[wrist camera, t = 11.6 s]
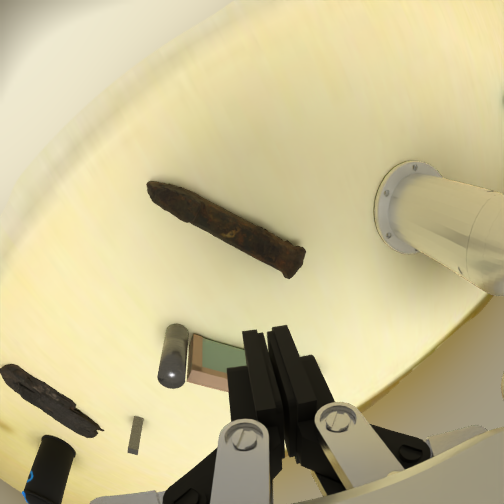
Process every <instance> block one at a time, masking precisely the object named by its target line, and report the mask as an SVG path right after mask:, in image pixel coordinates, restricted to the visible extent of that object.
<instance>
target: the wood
mask: <svg viewBox="0 0 504 504" xmlns="http://www.w3.org/2000/svg"><path fill="white" fill-rule="evenodd" d="M0 373H1V375H2V378H3V379H4V381H5V383H6V384H7V385H8V386H9V387H10V388H12V389H13V390H14V391H15V392H17V393H18V394H20V395H21V397H22V398H23V399H25V400H26V401H28V402H30V403H31V404H33V405H34V406H36V407H38V408H40V409H41V410H43V411H44V412H45V413H47V414H48V415H50V416H51V417H53V418H54V419H55V420H57V421H58V422H60V423H61V424H63V425H64V426H66V427H68V428H69V429H71V430H73V431H74V432H76V433H77V434H80V435H82V436H84V437H86V438H93V437H95V436H96V435H97V434H98V432H96V430H100V431H104V430H102V429H100V428H99V426H98V425H97V424H96V423H95V422H94V421H93V420H92V419H90V418H89V417H87V416H85V415H84V414H82V413H81V412H79V411H78V410H76V409H75V407H76V404H75V403H74V402H73V401H72V400H70V399H69V398H67V397H66V396H64V395H62V394H60V393H59V392H57V391H56V390H55V389H53V388H52V387H50V386H49V385H47V384H46V383H45V382H43V381H40V380H38V379H36V378H34V377H32V376H31V375H29V374H28V373H27V372H25V371H24V370H23V369H21V368H20V367H19V366H17V365H14V364H10V365H5V366H4V367H2V368H0Z"/></svg>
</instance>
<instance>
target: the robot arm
mask: <svg viewBox="0 0 504 504" xmlns="http://www.w3.org/2000/svg"><path fill="white" fill-rule="evenodd" d="M384 191H385V192H384ZM374 214H375V222H376V227H377V230H378V232H379V234H380V236H381V238H382V239H383V241H384V242H385V243H386V244H387V245H388V246H389V247H390V248H392V249H394V250H395V251H397V252H400V253H403V254H415V253H418V252H422V253H424V254H425V255H427V256H429V257H430V258H432V259H434V260H435V261H437V262H439V263H440V264H442V265H444V266H445V267H447V268H448V269H450V270H452V271H453V272H455V273H457V274H458V275H460V276H461V277H463V278H464V279H466V280H468V281H469V282H471V283H472V284H474V285H475V286H477V287H478V288H480V289H482V290H483V291H485V292H487V293H489V294H492V295H496V296H504V194H503V193H499V192H496V191H492V190H488V189H485V188H481V187H477V186H473V185H469V184H465V183H461V182H457V181H453V180H449V179H444V178H443V177H442V176H441V174H440V173H439V172H438V171H437V170H436V169H435V168H434V167H433V166H431V165H429V164H427V163H424V162H420V161H408V162H404V163H401V164H399V165H397V166H396V167H395V168H393V169H392V170H391V171H390V172H389V173H388V174H387V175H386V177H385V178H384V180H383V181H382V183H381V185H380V187H379V190H378V192H377V196H376V200H375V209H374ZM242 334H243V342H244V350H245V357H246V366H238V367H230V368H227V380H228V391H229V402H230V413H231V422H230V423H229V424H227V425H226V426H225V427H224V428H223V429H222V430H221V432H220V435H219V441H218V447H217V448H216V449H215V450H214V451H213V452H212V453H211V454H209V455H208V456H207V457H206V458H205V459H204V460H202V461H201V462H200V463H199V464H198V465H196V466H195V467H194V468H193V469H192V470H190V471H189V472H188V473H187V474H185V475H184V476H183V477H182V478H180V479H179V480H178V481H177V482H175V483H174V484H173V485H171V486H170V487H169V488H168V489H167V490H166V491H163V492H156V491H155V490H154V491H148V492H141V493H134V494H125V495H116V496H104V497H99V498H96V499H94V500H93V501H91V502H90V504H273V479H274V478H275V476H276V475H277V474H278V473H279V472H280V471H281V470H282V459H283V458H285V447H284V440H285V443H286V447H287V451H288V455H289V457H293V456H295V459H296V463H297V464H298V463H300V464H301V466H303V467H305V468H308V469H310V472H311V475H312V477H313V479H314V481H315V482H316V484H317V486H318V488H319V490H320V492H321V494H322V496H323V497H321V498H316V499H312V500H308V501H303V502H298V503H293V504H504V427H500V428H496V429H492V430H489V431H487V429H485V428H484V427H482V426H479V425H471V426H468V427H464V428H461V429H457V430H453V431H449V432H445V433H441V434H437V435H433V436H428V438H427V439H426V440H421V439H419V438H416V437H413V436H409V435H405V434H402V433H398V432H395V431H391V430H388V429H385V428H381V427H378V426H375V425H371V424H369V423H368V422H367V420H366V419H365V418H364V416H363V415H362V414H361V413H360V411H359V410H358V409H357V408H356V407H355V406H353V405H351V404H349V403H344V402H335V401H334V399H333V396H332V394H331V392H330V390H329V388H328V386H327V383H326V381H325V379H324V377H323V375H322V373H321V371H320V368H319V366H318V364H317V362H316V360H315V358H314V356H313V355H308V356H302V357H300V356H299V354H298V351H297V349H296V346H295V344H294V341H293V339H292V336H291V334H290V331H289V329H288V327H287V325H284V326H277V327H272V331H269V332H267V340H268V349H267V346H266V342H265V338H264V335H263V333H257V330H249V331H242ZM501 393H502V397H503V400H504V373H503V376H502V382H501Z"/></svg>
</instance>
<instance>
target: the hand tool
mask: <svg viewBox="0 0 504 504" xmlns="http://www.w3.org/2000/svg"><path fill="white" fill-rule="evenodd" d="M147 191H148V194H149V195H150V198H151V199H152V201H153V202H154V203H155V204H157V205H158V206H160V207H161V208H163V209H164V210H166V211H168V212H170V213H171V214H173V215H174V216H176V217H177V218H178V219H180V220H182V221H184V222H186V223H188V222H190V223H191V224H193V225H195V226H197V227H199V228H201V229H203V230H205V231H207V232H209V233H210V234H212V235H213V236H215V237H217V238H219V239H221V240H223V241H224V242H226V243H228V244H230V245H232V246H234V247H235V248H237V249H239V250H241V251H243V252H245V253H247V254H248V255H250V256H252V257H254V258H256V259H258V260H260V261H262V262H264V263H266V264H268V265H270V266H272V267H274V268H275V269H277V270H279V271H281V272H282V273H283V275H284V277H285V278H288V279H290V278H292V277H293V276H294V275H295V273H296V272H297V271H298V269H299V268H301V266H302V265H303V260H304V257H305V253H306V250H305V249H304V248H303V247H300V246H293V245H292V244H291V243H290V242H289V241H283V240H282V239H281V238H279V237H277V236H275V235H274V234H273V233H270V232H268V231H267V230H266V229H263V228H262V227H259V226H256V225H254V224H253V223H251V222H248V221H246V220H244V219H243V218H241V217H239V216H237V215H235V214H233V213H231V212H229V211H227V210H225V209H224V208H222V207H220V206H218V205H216V204H214V203H212V202H210V201H208V200H206V199H204V198H202V197H201V196H199V195H198V194H196V193H193V192H191V191H189V190H186V189H184V188H182V187H177V186H174V185H171V184H165V183H160V182H155V181H149V182H148V183H147Z"/></svg>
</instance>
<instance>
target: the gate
mask: <svg viewBox="0 0 504 504" xmlns="http://www.w3.org/2000/svg"><path fill="white" fill-rule="evenodd" d="M238 366H246V357H245V350H243V349H239V348H236V347H232V346H228V345H225V344H221V343H218V342H215V341H211V340H208V339H204V338H203V337H202V336H199V335H196V334H194V335H193V337H192V340H191V342H190V345H189V356H188V370H187V382H190V383H194V384H198V385H202V386H206V387H209V388H214V389H218V390H222V391H226V392H229V391H228V380H227V368H230V367H238Z"/></svg>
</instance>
